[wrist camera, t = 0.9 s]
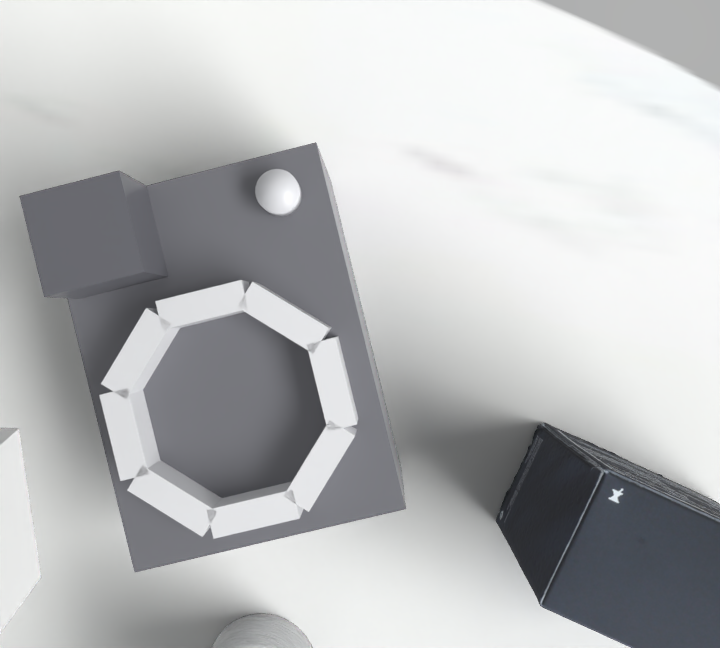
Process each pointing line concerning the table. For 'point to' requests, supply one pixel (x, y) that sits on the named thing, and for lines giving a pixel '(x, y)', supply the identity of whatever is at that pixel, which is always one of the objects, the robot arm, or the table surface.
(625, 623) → the small box
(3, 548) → the robot arm
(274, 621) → the lens
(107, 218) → the camera body
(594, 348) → the table surface
